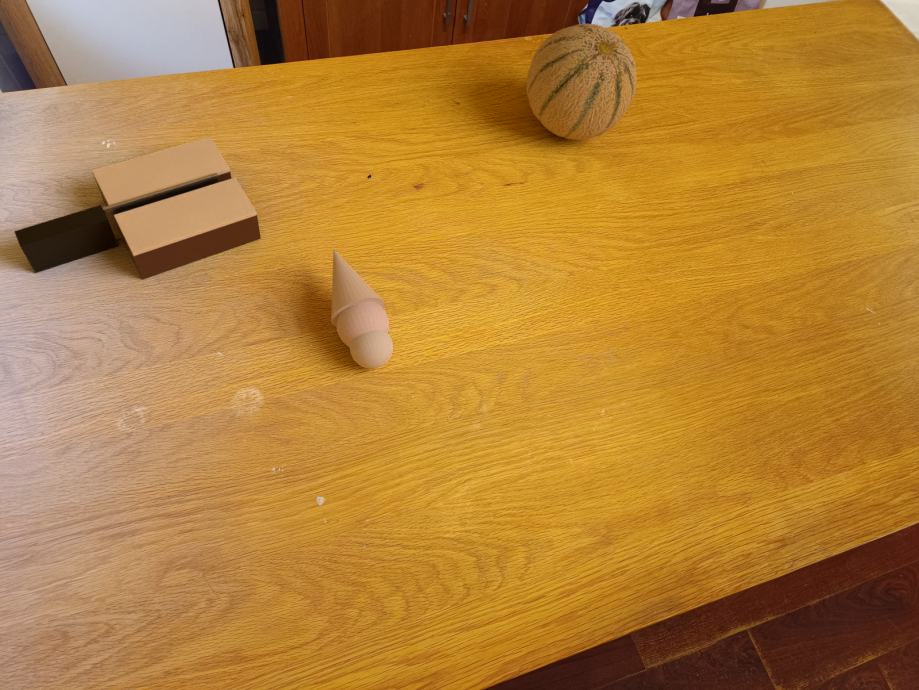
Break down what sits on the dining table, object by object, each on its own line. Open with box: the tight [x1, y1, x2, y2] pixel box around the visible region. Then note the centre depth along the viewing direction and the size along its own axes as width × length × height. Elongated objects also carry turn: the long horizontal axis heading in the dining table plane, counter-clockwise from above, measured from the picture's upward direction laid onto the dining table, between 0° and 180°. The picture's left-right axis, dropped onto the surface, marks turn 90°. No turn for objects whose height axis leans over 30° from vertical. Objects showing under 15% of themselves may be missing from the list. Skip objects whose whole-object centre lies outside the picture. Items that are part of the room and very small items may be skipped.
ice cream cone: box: [330, 248, 394, 370], centre depth 80 cm, size 6×6×15 cm
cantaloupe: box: [525, 23, 638, 142], centre depth 100 cm, size 15×15×15 cm
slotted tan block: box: [91, 136, 261, 280], centre depth 86 cm, size 14×14×4 cm
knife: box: [13, 173, 219, 274], centre depth 84 cm, size 22×2×5 cm, turn 122°
